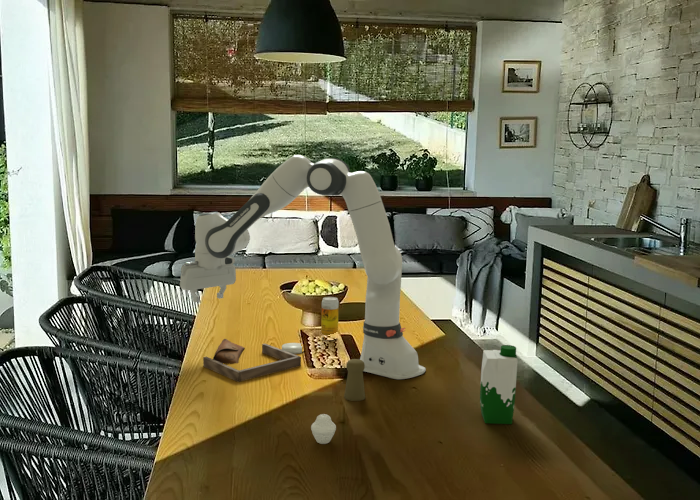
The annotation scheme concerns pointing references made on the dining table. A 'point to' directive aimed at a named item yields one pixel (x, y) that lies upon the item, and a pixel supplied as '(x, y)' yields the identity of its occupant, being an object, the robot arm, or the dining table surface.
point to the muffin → (323, 429)
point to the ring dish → (292, 348)
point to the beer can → (329, 315)
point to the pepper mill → (355, 380)
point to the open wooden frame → (285, 363)
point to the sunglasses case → (228, 352)
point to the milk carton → (498, 385)
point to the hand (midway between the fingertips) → (208, 299)
